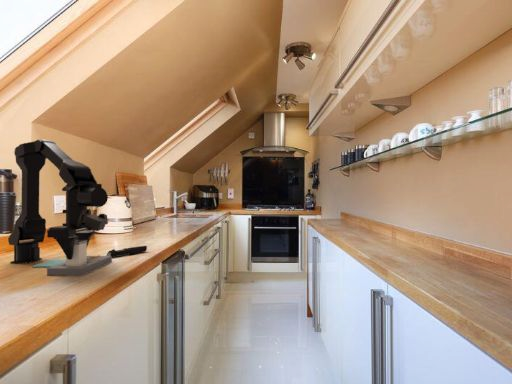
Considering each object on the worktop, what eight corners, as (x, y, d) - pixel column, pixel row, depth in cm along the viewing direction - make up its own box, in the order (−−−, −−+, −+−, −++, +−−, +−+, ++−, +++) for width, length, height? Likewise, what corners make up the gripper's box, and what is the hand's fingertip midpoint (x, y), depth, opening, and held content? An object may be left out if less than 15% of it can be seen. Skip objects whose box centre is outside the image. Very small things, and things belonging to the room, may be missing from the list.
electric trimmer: (148, 253, 125) (149, 245, 125) (110, 259, 113) (110, 250, 113) (143, 252, 127) (143, 244, 127) (105, 258, 116) (105, 249, 116)
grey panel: (46, 275, 90) (46, 266, 90) (82, 261, 108) (82, 254, 108) (81, 275, 90) (81, 267, 90) (111, 261, 108) (111, 254, 108)
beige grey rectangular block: (65, 272, 94) (65, 242, 94) (73, 268, 98) (74, 239, 98) (79, 272, 94) (79, 242, 94) (86, 268, 98) (86, 240, 98)
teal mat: (32, 267, 100) (32, 265, 100) (53, 260, 110) (53, 259, 110) (63, 267, 99) (63, 266, 99) (81, 260, 109) (81, 259, 109)
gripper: (85, 207, 87) (85, 264, 87) (117, 205, 105) (116, 251, 105) (45, 207, 87) (45, 264, 87) (84, 204, 106) (84, 251, 106)
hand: (76, 257), depth 96 cm, fingers open, 6 cm apart
